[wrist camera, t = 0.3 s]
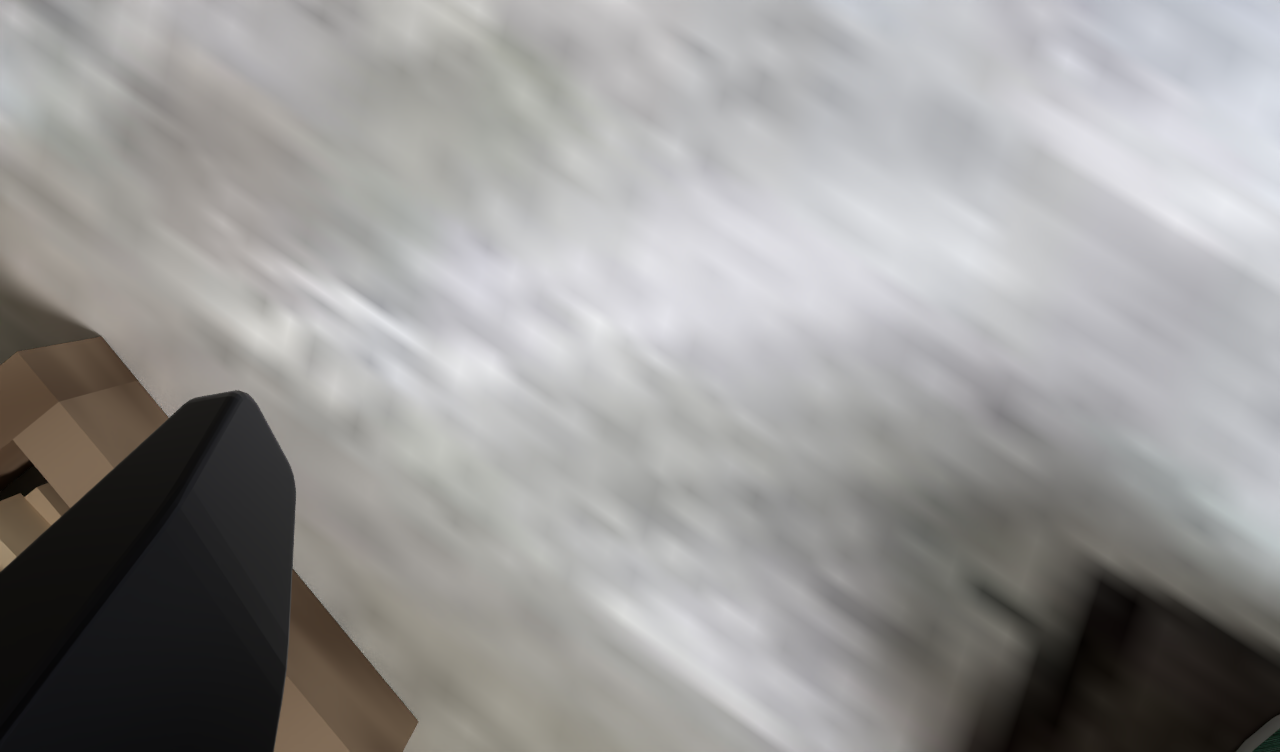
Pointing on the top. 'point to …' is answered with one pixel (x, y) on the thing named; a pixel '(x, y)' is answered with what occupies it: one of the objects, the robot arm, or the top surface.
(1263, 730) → the canned tomato
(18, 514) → the offcut stack
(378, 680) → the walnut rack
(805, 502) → the top surface
